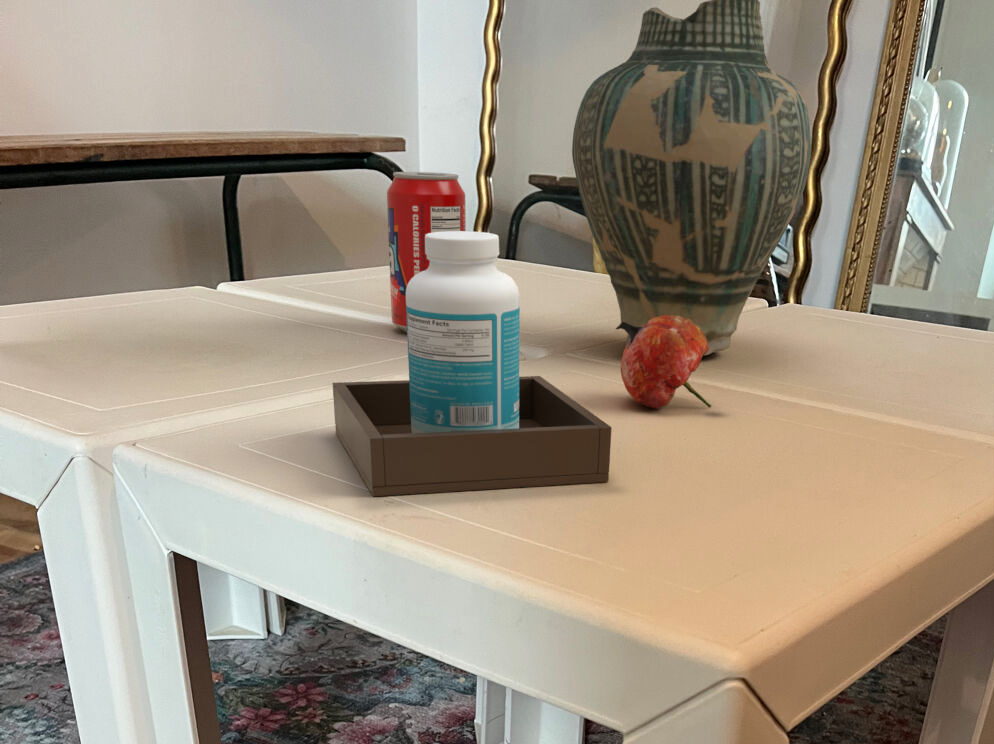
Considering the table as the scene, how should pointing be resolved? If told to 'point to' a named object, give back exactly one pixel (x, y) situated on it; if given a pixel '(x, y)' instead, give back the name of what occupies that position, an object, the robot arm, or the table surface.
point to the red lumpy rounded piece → (661, 358)
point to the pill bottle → (463, 337)
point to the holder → (469, 442)
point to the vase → (691, 166)
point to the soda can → (418, 226)
